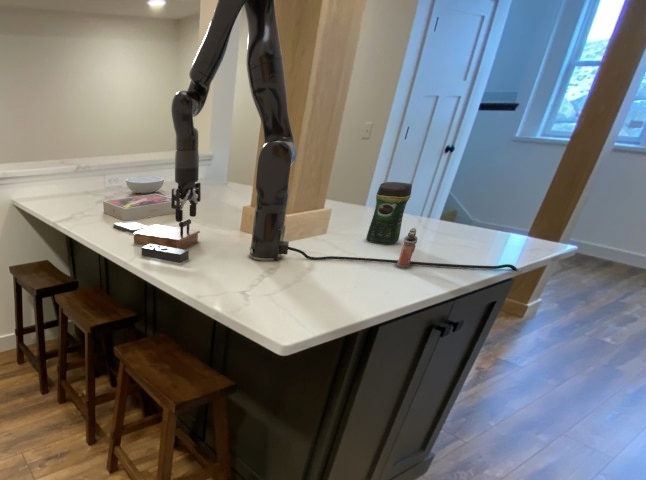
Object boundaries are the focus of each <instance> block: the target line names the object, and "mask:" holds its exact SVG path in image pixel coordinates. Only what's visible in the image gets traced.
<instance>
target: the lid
mask: <svg viewBox="0 0 646 480" xmlns="http://www.w3.org/2000/svg"><path fill="white" fill-rule="evenodd" d="M191 224H192V220H191V219H190V218H188V219H185V220H183V221H182V222H178V226H179V227H178V226H177V227H176V226H169V225H163V224H153V225H150V226H149V227H148V228H145V229H142V230H140V231H137V232H134V233H133V236H134V235H139V236H145V237H151V238H158V239H164V240H170V241H176V242H180V241H182V240H184V239H187V238H189V237H191V236H194V235H196V234H198V235H199V234H200V233H201V230H197V229H191V228H190V225H191Z"/></svg>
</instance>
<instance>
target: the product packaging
mask: <svg viewBox="0 0 646 480" xmlns="http://www.w3.org/2000/svg"><path fill="white" fill-rule="evenodd" d="M171 200H172V197H170V196H166V195H163V194H158V193H149V194H141V195H135V196H130V197H121V198H115V199H107V200H102V204H103V213H104V214H106V215H109V216H112V217H114V218H116V219H119V220H122V221H123V222H125V221H134V220H135V221H136V220H141V219H147V218H153V217H159V216H166V215H172V214H176V210H175V209H173V208H171ZM175 204H176V201H175Z"/></svg>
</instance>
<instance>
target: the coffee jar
mask: <svg viewBox="0 0 646 480" xmlns="http://www.w3.org/2000/svg"><path fill="white" fill-rule="evenodd" d="M412 185H413V184H412V183H408V182H402V181H401V182H399V181H385V182H382V183H380V184H379V187H378V189H377V192H376V195H375V200H376V202H375V203H376V204H375V208H374V212H373V215H372V218H371V220H370V221H371V222H370V224H369V227H368V230H367V233H366V237H365V240H366V241H367V242H370V243H373V244H382V245H390V244H391V245H392V244H393V245H394V244H396V243H397V242H398V241H399V239H400V235H401V231H402V229H401V228H402V223H403V217H404V212H405V208H406V205H407V203H408V201H409V200H410V198H411V197H412V189H413V186H412Z"/></svg>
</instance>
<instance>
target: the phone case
mask: <svg viewBox="0 0 646 480" xmlns="http://www.w3.org/2000/svg"><path fill="white" fill-rule="evenodd" d="M148 227H150V226H148V225H146V224H142V223H140V222H136V221H134V220H129V221H119V222H114V223H113V228H114V229H115V228H116V229H118V230H121V231H124V232H127V233H129V234H134V232H137V231H140V230H142V229H145V228H148Z"/></svg>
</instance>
